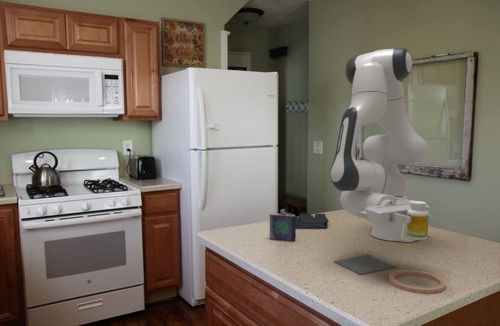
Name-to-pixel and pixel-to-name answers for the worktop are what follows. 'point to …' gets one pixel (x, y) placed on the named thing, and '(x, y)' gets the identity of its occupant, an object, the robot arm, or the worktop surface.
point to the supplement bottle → (417, 221)
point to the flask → (283, 226)
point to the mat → (364, 264)
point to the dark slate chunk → (311, 221)
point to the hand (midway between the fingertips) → (420, 218)
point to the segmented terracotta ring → (417, 289)
